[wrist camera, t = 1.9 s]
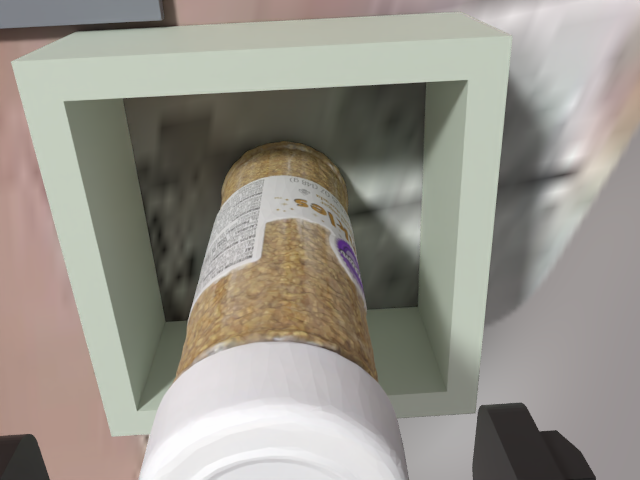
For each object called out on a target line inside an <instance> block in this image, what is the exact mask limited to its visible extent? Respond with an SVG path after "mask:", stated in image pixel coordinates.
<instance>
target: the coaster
mask: <svg viewBox="0 0 640 480" xmlns="http://www.w3.org/2000/svg"><path fill="white" fill-rule="evenodd" d="M164 18H165V17H164V11H163V4H162V0H0V28H19V27H39V26H58V25H78V24H98V23H118V22H138V21H158V20H163V19H164Z"/></svg>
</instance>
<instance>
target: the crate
mask: <svg viewBox="0 0 640 480" xmlns="http://www.w3.org/2000/svg"><path fill="white" fill-rule="evenodd" d="M511 45H512V35H510V34H507V33H505V32H503V31H501V30H499V29H497V28H494V27H492V26H490V25H488V24H486V23H484V22H481V21H479V20H477V19H475V18H473V17H471V16H468V15H466V14H464V13H462V12H447V13H427V14H407V15H387V16H368V17H348V18H328V19H308V20H288V21H269V22H249V23H229V24H209V25H190V26H170V27H150V28H130V29H111V30H91V31H77V32H74V33H72V34H70V35H68V36H66V37H64V38H61V39H59V40H57V41H55V42H53V43H50V44H48V45H46V46H44V47H42V48H40V49H37V50H35V51H33V52H31V53H29V54H27V55H24V56H22V57H20V58H18V59H16V60H14V61H11V63H12V67H13V71H14V74H15V78H16V82H17V86H18V89H19V93H20V97H21V100H22V104H23V108H24V112H25V115H26V119H27V123H28V126H29V130H30V134H31V138H32V141H33V145H34V149H35V153H36V156H37V160H38V164H39V167H40V171H41V175H42V179H43V182H44V186H45V190H46V193H47V197H48V201H49V205H50V208H51V212H52V216H53V220H54V223H55V227H56V231H57V234H58V238H59V242H60V246H61V249H62V253H63V257H64V260H65V264H66V268H67V272H68V275H69V279H70V283H71V286H72V290H73V294H74V298H75V301H76V305H77V309H78V313H79V316H80V320H81V324H82V327H83V331H84V335H85V339H86V342H87V346H88V350H89V353H90V357H91V361H92V365H93V368H94V372H95V376H96V380H97V383H98V387H99V391H100V394H101V398H102V402H103V406H104V409H105V413H106V417H107V420H108V424H109V428H110V432H111V435H112V437H113V436H128V435H144V434H150V433H151V429H152V426H153V423H154V419H155V416H156V412H157V410H158V407H159V405H160V403H161V401H162V398H163V396H164V395H165V393H166V392H167V391H168V389H169V388H170V386H171V385H172V383H173V381H174V379H175V377H176V372H177V369H178V366H179V362H180V360H181V356H182V350H183V346H184V342H185V339H186V335H187V323H188V321H173V322H166V321H165V316H164V311H163V306H162V301H161V295H160V290H159V285H158V280H157V274H156V269H155V264H154V259H153V254H152V248H151V243H150V238H149V233H148V228H147V222H146V217H145V212H144V207H143V201H142V196H141V191H140V186H139V181H138V175H137V170H136V165H135V160H134V154H133V149H132V144H131V139H130V134H129V128H128V123H127V118H126V113H125V108H124V102H123V98H135V97H154V96H172V95H191V94H210V93H229V92H248V91H267V90H286V89H305V88H324V87H343V86H362V85H380V84H399V83H418V82H426V101H425V128H424V155H423V182H422V209H421V235H420V262H419V289H418V307H404V308H388V309H371V310H367V315H366V320H367V325H368V330H369V335H370V340H371V344H372V348H373V354H374V362H375V368H376V371H377V374H378V383H379V384H380V386H381V387H382V389H383V390H384V391H385V393H386V395H387V396H388V398H389V400H390V401H391V403H392V406H393V408H394V410H395V413H396V417H397V418H409V417H424V416H440V415H456V414H470V413H475V411H476V400H477V391H478V381H479V371H480V359H481V350H482V340H483V330H484V320H485V310H486V299H487V289H488V279H489V269H490V259H491V249H492V238H493V228H494V218H495V208H496V198H497V187H498V177H499V167H500V157H501V147H502V137H503V126H504V116H505V106H506V96H507V86H508V76H509V65H510V55H511Z"/></svg>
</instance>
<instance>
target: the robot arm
mask: <svg viewBox="0 0 640 480" xmlns="http://www.w3.org/2000/svg"><path fill="white" fill-rule="evenodd" d="M472 468H473V480H596V477H595V475H594V474H593V472H592V470H591V468H590V467H589V465H588V463H587V462H586V460H585V458H584V457H583V455H582V453H581V452H580V451H579V450H578V449H577V448H576V447H575V446H574V445H573V444H571V443H570V442H569V441H568V440H567V439H565V437H563V436H562V435H561V434H560V433H559V432H558V431H556V430H555V431H541V432H539V430H538V428H537V426H536V424H535V422H534V420H533V419H532V417H531V415H530V413H529V411H528V409H527V407H526V406H525V405H524V404H523V403H509V404H495V405H481V406H480V408H479V411H478V417H477V427H476V437H475V446H474V456H473V467H472ZM0 480H50V479H49V476H48V473H47V470H46V467H45V464H44V461H43V458H42V455H41V452H40V449H39V446H38V443H37V440H36V438H35V437H34V436H33V435H31V434H23V435H8V436H0Z"/></svg>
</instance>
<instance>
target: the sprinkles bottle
mask: <svg viewBox="0 0 640 480" xmlns="http://www.w3.org/2000/svg"><path fill="white" fill-rule="evenodd" d="M221 199H222V202H221V207H220V211H219V213H218V214H217V217H216V219H215V222H214V225H213V229H212V233H211V236H210V240H209V243H208V247H207V251H206V254H205V258H204V262H203V266H202V269H201V274H200V278H199V281H198V285H197V289H196V292H195V296H194V300H193V304H192V307H191V311H190V315H189V319H188V323H187V335H186V339H185V342H184V346H183V350H182V356H181V360H180V362H179V366H178V369H177V372H176V377H175V379H174V381H173V383H172V385H171V386H170V388H169V389H168V391H167V392H166V393H165V395H164V396H163V398H162V401H161V403H160V405H159V407H158V410H157V412H156V416H155V419H154V423H153V426H152V429H151V433H150V437H149V441H148V445H147V449H146V452H145V456H144V460H143V464H142V468H141V472H140V476H139V480H409V477H408V472H407V465H406V459H405V454H404V448H403V443H402V438H401V434H400V430H399V425H398V421H397V417H396V413H395V410H394V408H393V406H392V403H391V401H390V400H389V398H388V396H387V395H386V393H385V391H384V390H383V389H382V387H381V386H380V384H379V383H378V374H377V371H376V368H375V362H374V354H373V348H372V344H371V340H370V335H369V330H368V325H367V320H366V315H367V307H366V301H365V296H364V290H363V285H362V280H361V275H360V270H359V264H358V259H357V253H356V247H355V241H354V235H353V229H352V226H351V222H350V219H349V217H348V213H347V211H348V195H347V189H346V184H345V181H344V179H343V177H342V176H341V174H340V171H339V169H338V168H337V167H336V166H335V165H334V164H333V163H332V162H331V161H330V160H329V158H328V157H326V156H325V155H324V154H322V153H321V152H319V151H316V150H315V149H313V148H311V147H308V146H306V145H304V144H301V143H293V142H285V141H282V142H277V143H268V144H265V145H262V146H258V147H257V148H254V149H252V150H249V151H247V152H246V153H245V154H244V155H243V156H242V157H241V158H240V159H239V160H238V161H236V162H235V163H234V164H233V166H232V167H231V169H230V170H229V172H228V173H227V175H226V177H225V180H224V183H223V186H222V190H221Z"/></svg>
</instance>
